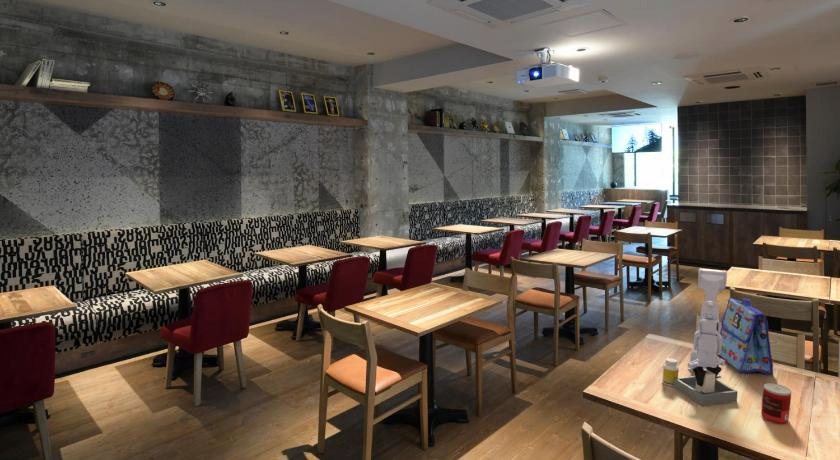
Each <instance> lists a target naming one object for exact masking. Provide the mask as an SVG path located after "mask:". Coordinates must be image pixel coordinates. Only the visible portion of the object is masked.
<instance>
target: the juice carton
mask: <svg viewBox="0 0 840 460" xmlns="http://www.w3.org/2000/svg"><path fill="white" fill-rule="evenodd" d="M703 370H705V371H707V372H706V374H705V377H704V382H703V386H702V387H701V386H699V385H697V382H696V388H697V389H699V390H701V391H702V392H704V393H709V392H714V386H715V374H714V373H712V372H711V371H709V370H707V369H703Z"/></svg>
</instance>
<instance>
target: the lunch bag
mask: <svg viewBox="0 0 840 460" xmlns="http://www.w3.org/2000/svg"><path fill="white" fill-rule="evenodd" d="M751 304H752V303H751V299H748V298H742V299H741V300H738V299H735V298H732V297H729V298H728V300H727V305H726V308H725V310H724V314H723V316H722V319H721V323H720V326H721V328H720V330H719V334H720V335H721V337H722V349H721V354H720V355H719V356H720V357H721V358H722V359H723V360H725V362H727V363H729V364H730V366H732V367H733V368H734V369H735V370H736V371H738V372H739V373H740V374H742V375H743V374H746V373H755V372H759V373H762V374H766V375H770V376H772V375H774V369H773V368H774V363H773V362H774V361H773V357H772V352H771V342H770V336H769V323H768V320H767V318H766V316H765V315H766V314H764V313H763V312H762V311H760V310H759V309H758V308H757V309H756V308H754V307H753V306H752V305H751ZM718 342H719V341H718Z"/></svg>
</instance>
